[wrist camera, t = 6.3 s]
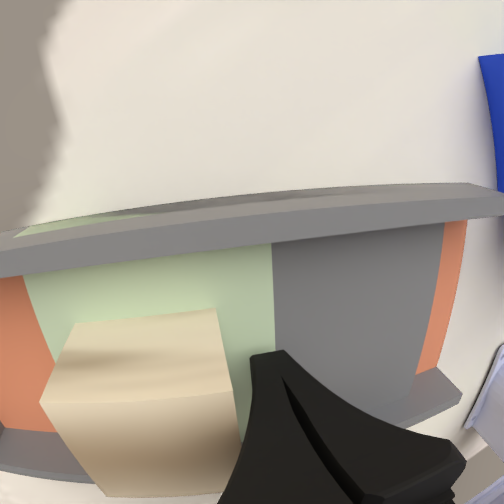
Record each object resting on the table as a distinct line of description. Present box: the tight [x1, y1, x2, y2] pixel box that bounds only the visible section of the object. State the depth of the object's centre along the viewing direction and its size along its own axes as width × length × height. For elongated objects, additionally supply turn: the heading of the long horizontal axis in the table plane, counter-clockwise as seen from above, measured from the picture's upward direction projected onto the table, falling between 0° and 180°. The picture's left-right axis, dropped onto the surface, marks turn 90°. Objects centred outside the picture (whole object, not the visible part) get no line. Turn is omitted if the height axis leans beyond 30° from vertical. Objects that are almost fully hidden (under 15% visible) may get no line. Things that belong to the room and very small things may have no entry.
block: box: [39, 308, 242, 498], centre depth 9 cm, size 5×5×4 cm
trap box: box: [0, 183, 504, 484], centre depth 11 cm, size 12×27×3 cm, turn 93°
